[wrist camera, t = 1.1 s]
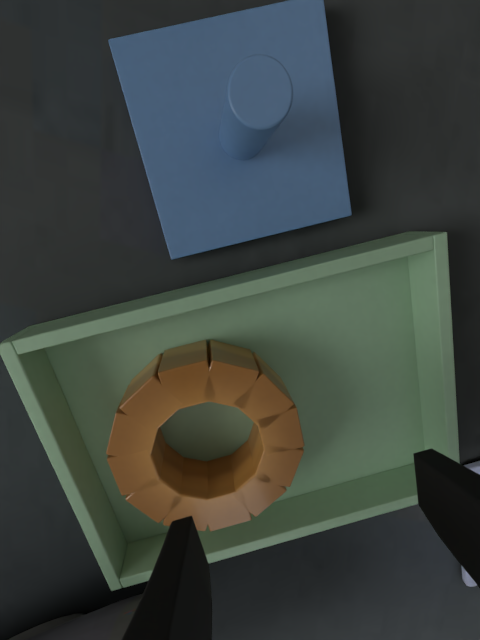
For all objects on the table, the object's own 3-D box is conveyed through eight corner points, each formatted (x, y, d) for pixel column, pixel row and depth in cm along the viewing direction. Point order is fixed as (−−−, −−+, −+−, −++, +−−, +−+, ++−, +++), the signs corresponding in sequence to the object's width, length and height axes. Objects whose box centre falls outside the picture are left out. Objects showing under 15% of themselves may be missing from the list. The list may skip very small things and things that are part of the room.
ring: (301, 464, 18) (317, 502, 16) (151, 506, 18) (143, 551, 15) (270, 322, 16) (283, 340, 13) (98, 366, 16) (78, 393, 13)
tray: (409, 230, 16) (447, 231, 14) (429, 458, 20) (461, 491, 17) (28, 326, 15) (-5, 345, 13) (122, 544, 19) (110, 592, 17)
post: (343, 216, 16) (415, 210, 10) (173, 257, 15) (158, 274, 10) (314, 9, 13) (387, -133, 8) (114, 52, 13) (55, -66, 8)
